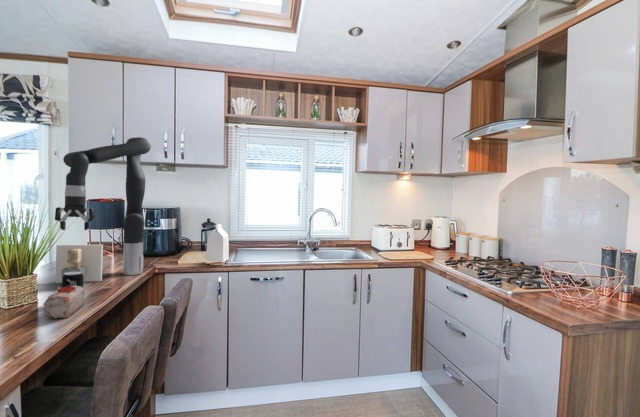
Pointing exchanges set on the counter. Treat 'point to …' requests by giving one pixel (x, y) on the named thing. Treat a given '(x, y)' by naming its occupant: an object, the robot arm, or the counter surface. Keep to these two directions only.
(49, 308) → the food item
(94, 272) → the white upright panel
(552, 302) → the counter surface
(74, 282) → the beverage can
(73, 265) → the rail post
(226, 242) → the milk
